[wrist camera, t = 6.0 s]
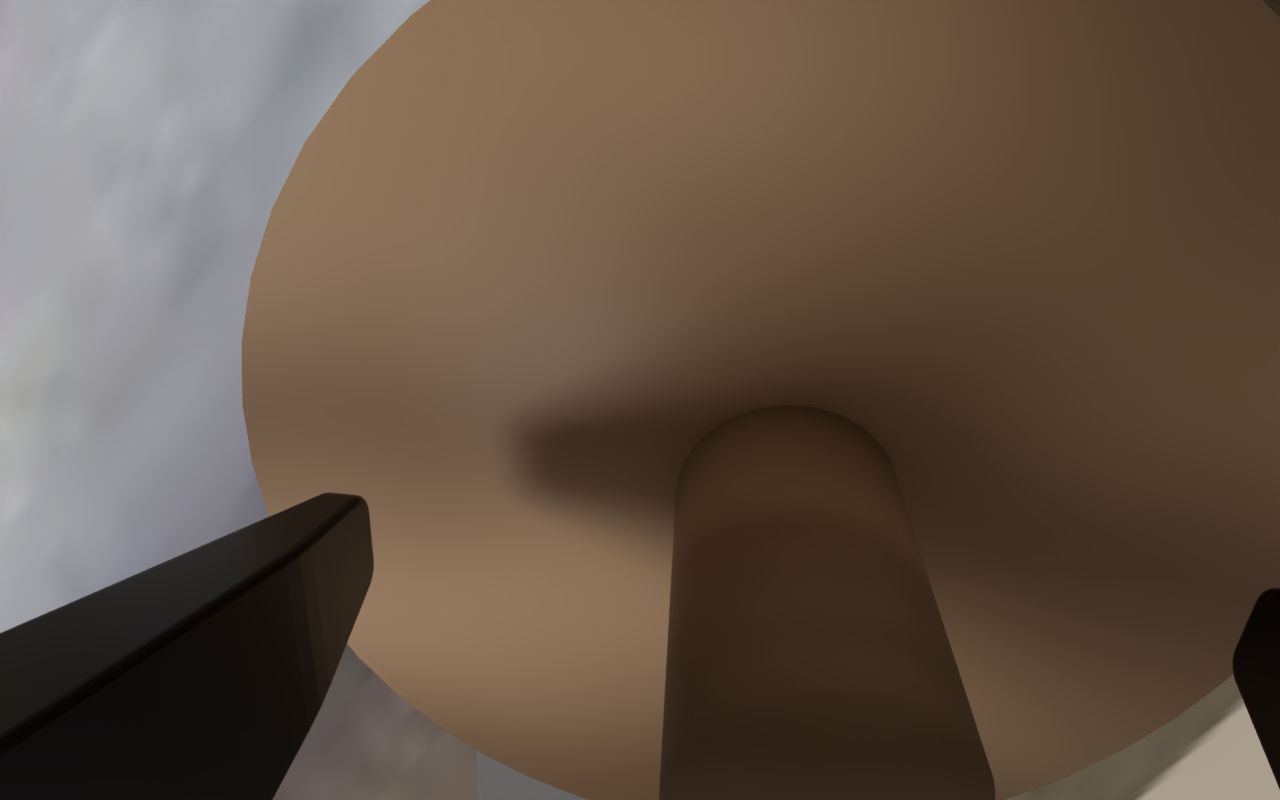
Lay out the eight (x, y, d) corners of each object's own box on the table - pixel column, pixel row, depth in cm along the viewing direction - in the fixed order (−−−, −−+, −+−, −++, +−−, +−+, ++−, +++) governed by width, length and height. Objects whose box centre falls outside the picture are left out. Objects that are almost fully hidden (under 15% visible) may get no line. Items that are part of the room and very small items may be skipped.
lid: (1136, 817, 14) (1318, 1206, 10) (350, 753, 14) (207, 1095, 10) (1631, -118, 7) (2842, -145, 3) (152, -166, 8) (-468, -241, 4)
